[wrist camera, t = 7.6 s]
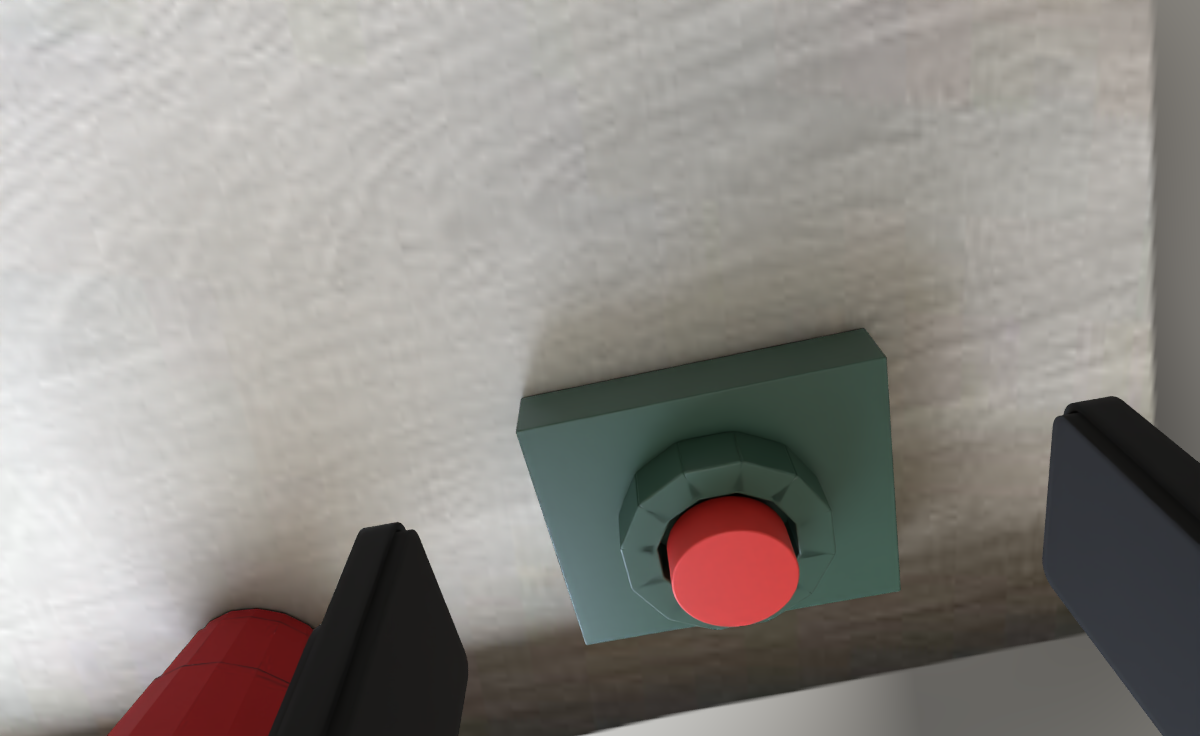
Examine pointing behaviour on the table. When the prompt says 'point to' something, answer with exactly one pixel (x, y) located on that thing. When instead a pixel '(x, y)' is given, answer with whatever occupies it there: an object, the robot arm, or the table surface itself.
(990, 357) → the table surface
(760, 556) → the release button
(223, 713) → the plastic cup
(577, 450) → the box
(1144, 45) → the table surface
